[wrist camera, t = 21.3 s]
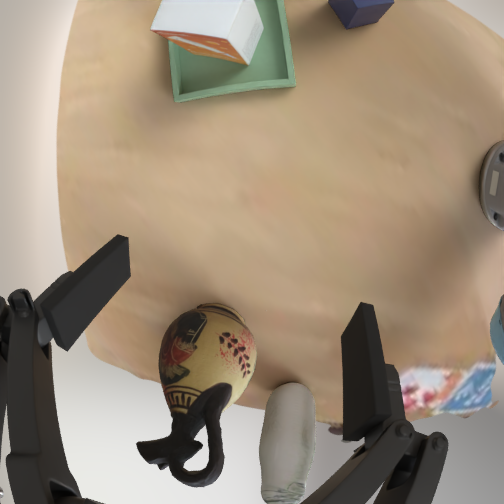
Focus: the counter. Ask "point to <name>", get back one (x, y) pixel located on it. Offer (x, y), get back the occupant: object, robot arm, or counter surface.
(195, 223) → the counter surface
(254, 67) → the tray
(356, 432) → the robot arm
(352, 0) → the navy block
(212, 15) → the small box
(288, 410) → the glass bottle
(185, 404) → the ceramic jug
